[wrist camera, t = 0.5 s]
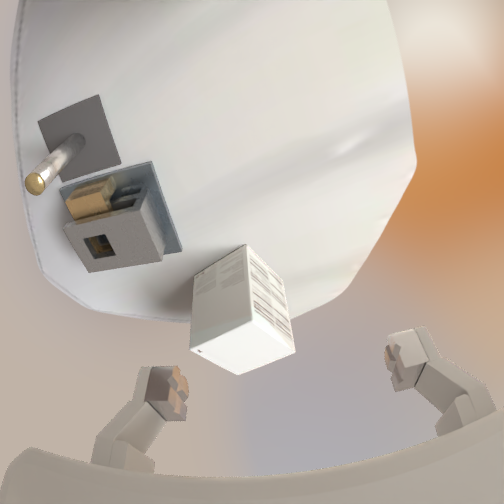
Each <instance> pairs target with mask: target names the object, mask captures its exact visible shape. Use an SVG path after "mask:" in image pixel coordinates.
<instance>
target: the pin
mask: <svg viewBox="0 0 504 504" xmlns="http://www.w3.org/2000/svg"><path fill="white" fill-rule="evenodd" d="M84 146H85V138H84V136H83V135H82V134H80V133H74V134H72V135H71V136H70V137H69V138H68V139H67V140H65V141H64V142H63V143H62V144H61V145H60V146H59V147H57V148H56V149H55V150H54V151H53V152H52V153H51V154H50V155H49V156H48V157H46V158H45V159H44V160H43V161H42V162H41V163H40V164H39V165H38V166H37V167H36V168H35V169H34V170H33V171H32V172H31V173H30V174H29V175H28V176H27V177H26V179H25V186H26V189H27V190H28V192H29V193H31V194H32V195H36V196H37V195H40V194H41V193H42V192H43V191H44V190H45V189H46V187H47V186H48V185H49V184H50V183H51V182H52V181H53V179H54V178H55V177H56V176H57V175H58V174H59V173H60V172H61V171H62V169H63V168H64V167H65V166H66V165H67V164H68V163H69V162H70V161H71V160H72V159H73V158H74V157H75V156H76V155H77V154H78V153H79V152H80V151H81V150H82V149H83V148H84Z"/></svg>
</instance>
